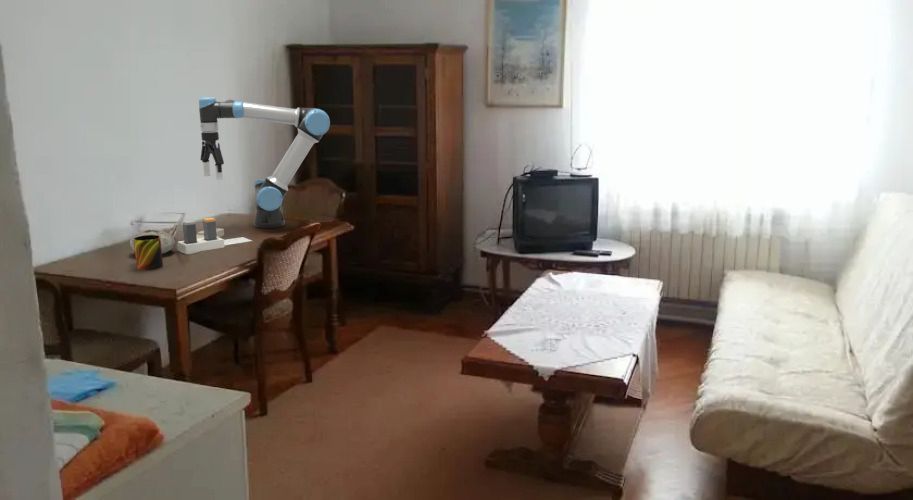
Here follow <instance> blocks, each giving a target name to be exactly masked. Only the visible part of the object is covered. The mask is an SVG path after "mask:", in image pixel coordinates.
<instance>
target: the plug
mask: <svg viewBox="0 0 913 500" xmlns="http://www.w3.org/2000/svg"><path fill="white" fill-rule="evenodd" d="M216 222H217V221H216V218H215V217H206V218H205V217H204V218H202V227H203V228H202V229H203V230H204V240H206V241H211V240H217V234H216V228H217V223H216Z"/></svg>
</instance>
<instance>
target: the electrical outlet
mask: <svg viewBox="0 0 913 500" xmlns="http://www.w3.org/2000/svg"><path fill="white" fill-rule="evenodd" d="M216 234H217V237H219V238H222V237H225V229H224V228H219V227H218V228H217V227H216ZM196 236H197V239H199V238H204V229H203V230H201V231H198V232H196Z"/></svg>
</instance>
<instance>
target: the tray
mask: <svg viewBox="0 0 913 500" xmlns="http://www.w3.org/2000/svg"><path fill="white" fill-rule="evenodd" d="M249 242H253V240H251V239H249V238H247V237H243V236H242V237H235V238H228V239H224V246H228V245H235V244H242V243H249Z"/></svg>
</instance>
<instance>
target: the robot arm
mask: <svg viewBox="0 0 913 500" xmlns="http://www.w3.org/2000/svg"><path fill="white" fill-rule="evenodd" d="M198 108H199V110H198V111H199V112H198V113H199V120H200V125H199V127H200V131H201V133H200V134H201V141H202V142H201V152H200V153H201V154H200V161H202V165H203V176H204V177H211V169H210V168H211V167H210V157H211V155H212V158H213V160H214V162H215V164H214V166H215V168H214V169H215V178H216V180H217V181H219V180H223V179H224V178H223V168H222V167H223V165H224V164H225V162H224V158H223V154H222V150H221V146H220V143H219V142H217V141H219V140H220V138H219V137H220V135H219V123H218V119H249V120H256V121H257V120H258V121H264V122H270V123H271V122H272V123H279V124H285V125H294V127H295V128H297V135H296V136H295V138H294V140H293V141H292V143H291V145H290V146H289V147H288V149H287V151H285V154H284V156H283V157H282V159H281V160H280V162H279V164H278V165H277V166H276V168H275V169H274V171H273V173H272V174H271V175H270V176H266V178H265V179H256V180H255V181H254V191H255V193H254V195H255V207H256V210H255V215H254V218H253V226H254V228H259V229H273V228H274V229H275V228H279V227H283V226H285V225H286V221H285V220H286V219H285V217H284V215H283V214H284V213H283V212H282V209H281V205H282V203H283V200H284V198H285V196H286V195H287V193H288V192H289V188H288V185H289V184H290V182H291V181H292V179H293V178H294V176H295V174H296V173H297V171H298V169H299V168H300V166H301V165H302V163H303V161H304V160H305V158H306V157H307V155H308V154H309V152H310V150H311V148H312V147H313V146H314V144H316V143H319V142H320V140H321V139H322V138H323V135H324V134H326V133H327V132H328V131H329V130H330V125H331V120H330V117H329V115H328V113H327V112H325V110H322V109H320V108H316V107H300V106H299V107H297V108H290V107H283V106H276V105H267V104H260V103H254V102H246V101H238V100H234V99H227V100H225V101H217V98H216V97H210V96H209V97H205V96H204V97H200V98H199V99H198Z"/></svg>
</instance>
